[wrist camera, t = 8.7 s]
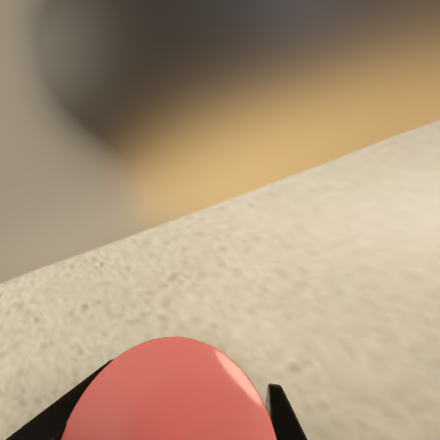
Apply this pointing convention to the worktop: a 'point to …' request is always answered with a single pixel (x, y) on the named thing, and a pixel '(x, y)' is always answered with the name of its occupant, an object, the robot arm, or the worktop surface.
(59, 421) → the robot arm
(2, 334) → the worktop surface
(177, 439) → the cup
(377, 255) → the worktop surface
